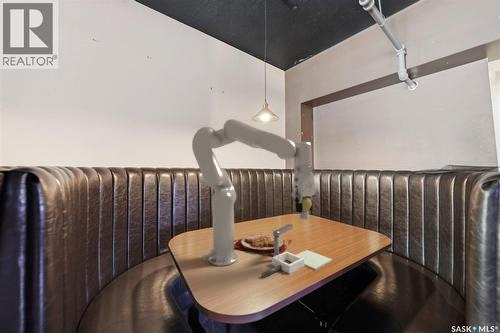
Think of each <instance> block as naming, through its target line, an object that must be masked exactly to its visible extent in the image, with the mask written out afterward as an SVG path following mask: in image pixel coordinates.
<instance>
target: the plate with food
mask: <svg viewBox="0 0 500 333" xmlns="http://www.w3.org/2000/svg"><path fill="white" fill-rule="evenodd" d="M292 241H293V240H292V239H288V242H287V244H285V242H286V240H285V239H281V238H279V254H282V253H284V252H286V249H287V245H290V244H291V243H292ZM234 249H239V250H240V251H249V252H251V253H253V252H254V251H252V250H251V249H253V250H258V253H259V254H260V255H264V256H273V257H274V236H273V235H270V234H268V235H267V234H262V233H261V234H255V235H251V234H250V235H249V236H248V235H247V236H246V237H244V238H239V239H234Z"/></svg>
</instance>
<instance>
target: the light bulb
mask: <svg viewBox="0 0 500 333" xmlns="http://www.w3.org/2000/svg"><path fill="white" fill-rule="evenodd" d="M308 197H309V196H308ZM308 197H302V201H301V203H302V210H303V212H302V213H300V212H299V218H300V219H301V220H305V221H306V220H308V219H309V217H310V214H309V213H310V212H309V211H310V210H309V209H310V208H311V205H312V206H313V201H312V202H311V200H310V198H308ZM299 198H300V197H298V199H299Z"/></svg>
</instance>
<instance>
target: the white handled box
mask: <svg viewBox="0 0 500 333" xmlns="http://www.w3.org/2000/svg"><path fill="white" fill-rule="evenodd" d="M273 237H274V253H273V255H274V256H273V257H271V265H272V266H273V267H272V268H269V269H268V270H265V271H263V272H262V273H261V277H262V278H265V277H269V276H270V275H272V274H274V273H276V272H278V271H280V270H282V271H283V272H285V273H287V274H289V275H290V274H292V273H294V272H296V271H298V270H300V269H302V268H303V267H305V265H304V259H303V258H301V257H299V256H296V254H294V253H291V252H288V251H283V253H281V254H279V239H280V238H279V237H280V236H278V237H276V236H273ZM285 261H288V262H291V263H287V262H285Z"/></svg>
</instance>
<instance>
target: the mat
mask: <svg viewBox="0 0 500 333" xmlns="http://www.w3.org/2000/svg"><path fill="white" fill-rule="evenodd" d="M295 255H296V256H299V257H301V258H303V259H304V267H305V266H306V267H308V268H310V269H312V270H315V271H317V270H319V269H321V267H324V266H325V265H327V264H329V263H331V262H332V261H333V259H332V258H331V257H327V256H326V255H325V256H324V255H321V254H319V253H316V252H314V251H311V250H308V249H306V250H304V251H301V252H299V253H297V254H295Z"/></svg>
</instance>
